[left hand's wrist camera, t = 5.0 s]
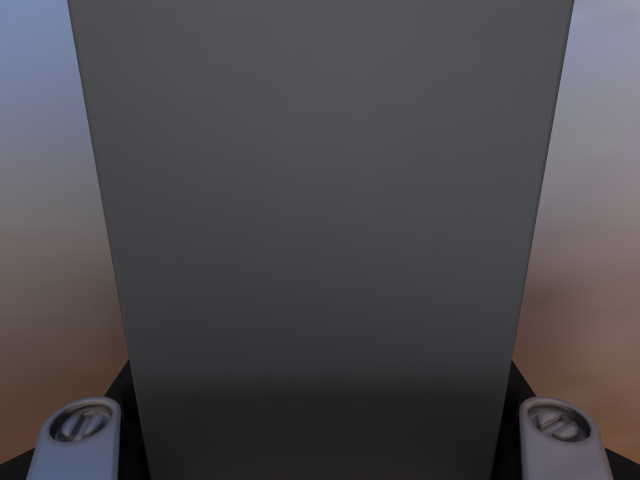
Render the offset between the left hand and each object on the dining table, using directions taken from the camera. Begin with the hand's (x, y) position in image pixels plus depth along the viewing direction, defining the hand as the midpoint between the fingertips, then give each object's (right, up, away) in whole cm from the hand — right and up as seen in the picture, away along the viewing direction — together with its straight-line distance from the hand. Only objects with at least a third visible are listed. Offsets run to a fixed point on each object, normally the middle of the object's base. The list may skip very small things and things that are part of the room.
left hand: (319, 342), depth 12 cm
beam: (0, +24, -7) cm, 25 cm away
